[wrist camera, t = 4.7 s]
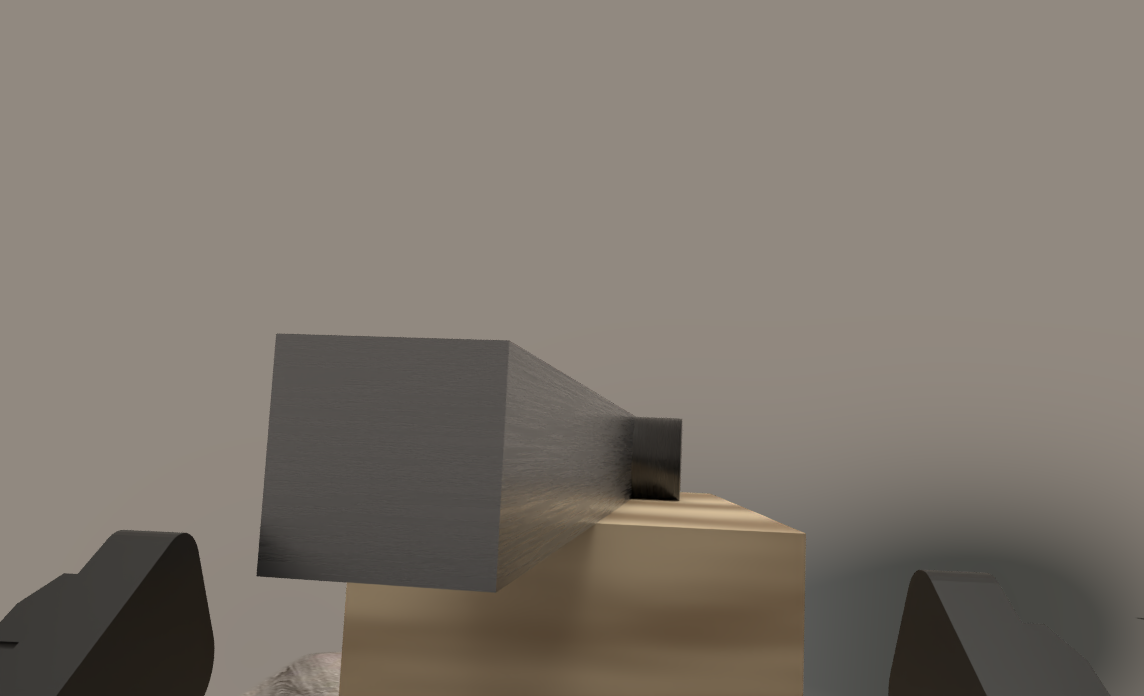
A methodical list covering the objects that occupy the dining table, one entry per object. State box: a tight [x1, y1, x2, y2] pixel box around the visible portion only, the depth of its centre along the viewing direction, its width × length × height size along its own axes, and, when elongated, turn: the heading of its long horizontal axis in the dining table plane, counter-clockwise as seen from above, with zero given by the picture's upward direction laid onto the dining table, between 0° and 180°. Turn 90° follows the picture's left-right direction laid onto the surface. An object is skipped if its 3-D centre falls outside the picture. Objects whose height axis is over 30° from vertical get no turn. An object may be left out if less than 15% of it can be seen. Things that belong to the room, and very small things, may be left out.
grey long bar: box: [257, 334, 682, 593], centre depth 22 cm, size 24×6×3 cm, turn 172°
